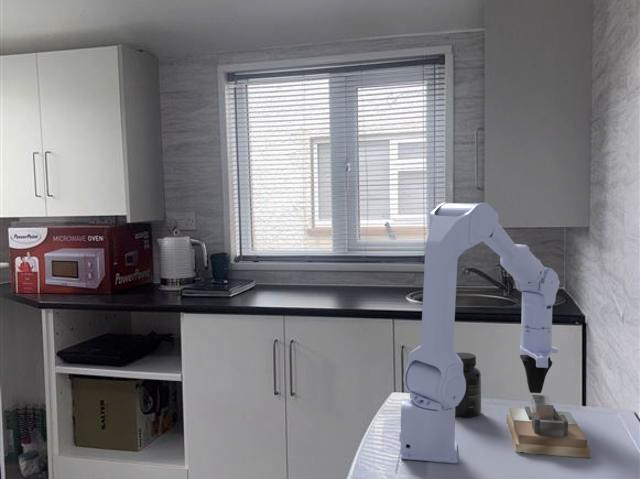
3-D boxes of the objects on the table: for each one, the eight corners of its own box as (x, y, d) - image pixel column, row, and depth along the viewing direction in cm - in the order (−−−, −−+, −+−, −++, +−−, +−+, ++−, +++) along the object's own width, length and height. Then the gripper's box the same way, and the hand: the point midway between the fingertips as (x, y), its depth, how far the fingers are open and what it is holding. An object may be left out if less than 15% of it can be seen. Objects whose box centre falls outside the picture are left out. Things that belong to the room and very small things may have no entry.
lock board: (515, 452, 97) (516, 421, 97) (506, 422, 110) (507, 394, 110) (590, 458, 95) (591, 426, 95) (571, 426, 108) (572, 398, 107)
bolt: (535, 419, 104) (536, 404, 103) (531, 408, 108) (531, 394, 108) (553, 420, 103) (553, 405, 103) (547, 409, 108) (548, 395, 108)
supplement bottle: (477, 406, 118) (478, 351, 117) (483, 419, 111) (484, 360, 110) (444, 405, 119) (445, 350, 118) (448, 418, 112) (449, 360, 111)
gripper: (565, 335, 104) (564, 406, 105) (550, 318, 119) (548, 381, 120) (526, 334, 106) (524, 404, 107) (515, 317, 120) (514, 379, 121)
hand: (535, 391), depth 113 cm, fingers closed
